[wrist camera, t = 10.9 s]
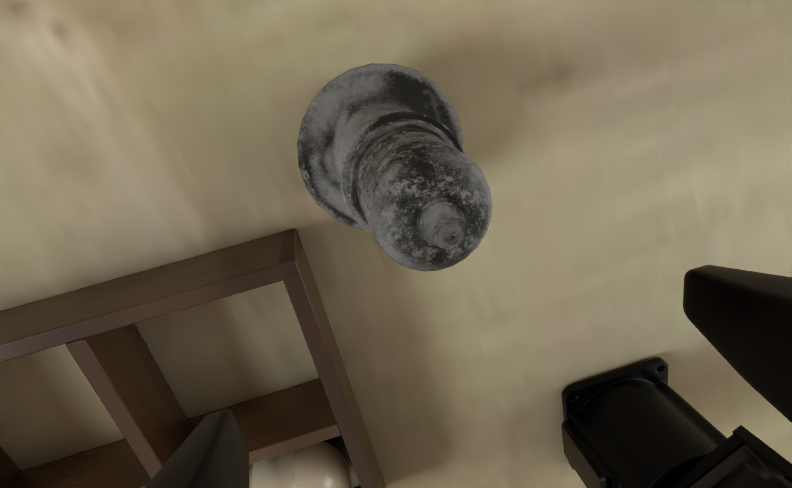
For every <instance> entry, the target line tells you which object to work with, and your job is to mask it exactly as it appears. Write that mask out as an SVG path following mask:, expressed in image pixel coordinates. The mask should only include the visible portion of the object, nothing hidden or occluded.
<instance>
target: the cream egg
mask: <svg viewBox="0 0 792 488" xmlns="http://www.w3.org/2000/svg"><path fill="white" fill-rule="evenodd" d="M249 481H250V488H351V475H350V470H349V467H348V464H347V462H346V461H345V459H344V457H343V455H342V454H341V453H340V452H339V451H338V450H337V449H336V448H335V447H334V446H332V445H331V444H329V443H327V442H325V441H322V442H319V443H316V444H313V445H309V446H306V447H303V448H300V449H297V450H294V451H291V452H288V453H285V454H282V455H279V456H275V457H272V458H269V459H266V460H263V461H260V462H257V463H254V464H251V465H249Z"/></svg>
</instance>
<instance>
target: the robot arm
mask: <svg viewBox="0 0 792 488" xmlns="http://www.w3.org/2000/svg"><path fill="white" fill-rule="evenodd" d="M683 308H684V312H685V314H686V316H687V318H688V319H689V320H690V321H691V322H692V323H693V324H694V325H695V327H696V328H697V329H698V330H699V331H700V332H701V333H702V334H703V335H704V336H705V337H706V339H707V340H708V341H709V342H710V343H711V344H712V345H713V346H714V347H715V348H716V349H717V351H718V352H719V353H720V354H721V355H722V356H723V357H724V358H725V359H726V360H727V361H728V363H729V364H730V365H731V366H732V367H733V368H734V369H735V370H736V371H737V372H738V373H739V374H740V375H741V376H742V377H743V378H744V379H745V380H746V381H747V382H748V383H749V384H750V385H751V386H752V387H753V388H754V389H755V390H756V391H757V392H759V393H760V394H761V395H762V396H763V397H764V398H765V399H766V400H767V401H768V402H770V403H771V404H772V405H773V406H774V407H775V408H776V409H777V410H778V411H779V412H781V413H782V414H783V415H784V416H785V417H786V418H787V419H788V420H789V421H790V422H792V277H785V276H778V275H772V274H765V273H759V272H752V271H746V270H739V269H732V268H726V267H719V266H713V265H705V266H701V267H698V268H695V269H691V270H689V271H688V272H687V273H686V274H685V276H684V293H683ZM562 404H563V414H564V421H563V423H562V435H563V444H564V453H565V455H566V457H567V458H568V462H569V464H570V465H571V467H572V468H573V469H574V470H576V472H577V473H578V475H579V477H580V478H581V480H582V481H583V483H584V484H585V486H586V487H587V488H792V464H791V463H790V462H788V461H787V460H786V459H784V458H783V457H782V456H781V455H779V454H778V453H777V452H775V451H774V450H773V449H771V448H770V447H769V446H768V445H766V444H765V443H764V442H762V441H761V440H760V439H758V438H757V437H756V436H755V435H753V434H752V433H751V432H749V431H748V430H747V429H745V428H744V427H743V426H741V425H740V426H739V427H738V428H736V429H735V430H734V431H733V432H732V433H733V435H731V436H730V437H729V438H726V437H725V436H724V435H723V434H722V433H721V432H720V431H719V430H717V429H716V428H715V427H714V426H713V425H712V424H711V423H710V422H709V421H707V420H706V419H705V418H704V417H703V416H702V415H701V414H700V413H698V412H697V411H696V410H695V409H694V408H693V407H692V406H691V405H690V404H688V403H687V402H686V401H685V400H684V399H683V398H682V397H681V396H679V395H678V394H677V393H676V392H675V391H674V390H673V389H672V388H671V387H669V386H668V364H667V363H666V362H665V361H664V360H663V359H662V358H659V357H658V358H654V359H651V360H648V361H645V362H642V363H639V364H635V365H632V366H629V367H626V368H623V369H620V370H617V371H614V372H611V373H608V374H605V375H602V376H599V377H596V378H593V379H590V380H587V381H584V382H581V383H578V384H574V385H571V386H569V387H567V388H565V389H564V390H563V392H562ZM145 488H250V481H249V449H248V445H247V442H246V439H245V437H244V435H243V433H242V431H241V429H240V427H239V425H238V422H237V420H236V418H235V416H234V414H233V413H232V412H231V411H230V410H227V409H226V410H222V411H219V412H216V413H212V414H209V415H207V416H205V418H204V419H203V420H202V421H201V422H200V423H199V424H198V425H197V427H196V428H195V429H194V430H193V431H192V432H191V434H190V435H189V436H188V437H187V438H186V440H185V441H184V442H183V443H182V444H181V445H180V447H179V448H178V449H177V450H176V451H175V452H174V454H173V455H172V456H171V457H170V458H169V459H168V461H167V462H166V463H165V464H164V465H163V467H162V468H161V469H160V470H159V471H158V472H157V474H156V475H155V476H154V477H153V478H152V479H151V481H150V482H149V483H148V484H147V485H146V486H145Z"/></svg>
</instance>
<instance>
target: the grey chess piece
mask: <svg viewBox="0 0 792 488" xmlns="http://www.w3.org/2000/svg"><path fill="white" fill-rule="evenodd" d="M297 145H298V163H299V168H300V171H301V174H302V177H303V180H304V183H305V186H306V188H307V189H308V191H309V192H310V194H311V195H312V197H313V198H314V200H315V201H316V203H317V204H318V205H319V206H320V207H321V208H322V209H324V210H325V211H326V212H327V213H328V214H329V215H330V216H332V217H333V218H334V219H336V220H338V221H340V222H342V223H344V224H346V225H348V226H350V227H353V228H358V229H363V230H366V231H368V232H370V233H372V235H373V237H374V239H375V240H376V242H377V244H378V245H379V247H380V248H381V249H382V250H383V251H384V252H385V253H386V254H387V255H388V256H389V257H390V258H391V259H393V260H394V261H395V262H397V263H399V264H401V265H403V266H405V267H407V268H410V269H415V270H420V271H436V270H441V269H444V268H447V267H451V266H453V265H455V264H457V263H458V262H460V261H462V260H463V259H465V258H466V257H467V256H468V255H469V254H470V253H471V252H473V251H474V250H475V249H476V248H477V246H478V245H479V243H480V242H481V240H482V239H483V237H484V236H485V234H486V231H487V228H488V226H489V223H490V220H491V212H492V199H491V193H490V188H489V186H488V183H487V181H486V179H485V177H484V175H483V173H482V171H481V169H480V168H479V167H478V166H477V164H476V163H475V162H474V161H473V160H472V159H471V158H470V157H469V156H467V155H466V154H464V153H463V151H462V148H463V138H462V133H461V127H460V122H459V119H458V116H457V114H456V112H455V110H454V108H453V106H452V104H451V101H450V100H449V99H448V97H447V96H446V95H445V94H444V93H443V92H442V90H441V89H440V88H439V87H438V86H437V84H436V83H434V82H433V81H431V80H430V79H428V78H427V77H425V76H424V75H422V74H421V73H419V72H418V71H415V70H412V69H409V68H406V67H403V66H399V65H396V64H368V65H365V66H361V67H357V68H354V69H350V70H348V71H346V72H344V73H343V74H341V75H340V76H338V77H336V78H335V79H333V80H331V81H330V82H328V83H327V85H326V86H325V87H324V88H323V89H322V90H321V91H320V92H319V93H318V94H317V95H316V96H315V97H314V98H313V100H312V102H311V104H310V106H309V108H308V110H307V111H306V113H305V115H304V117H303V119H302V123H301V128H300V132H299V137H298V142H297Z"/></svg>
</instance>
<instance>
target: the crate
mask: <svg viewBox="0 0 792 488" xmlns="http://www.w3.org/2000/svg"><path fill="white" fill-rule="evenodd" d="M282 280H283V281H284V284H285V286H286V289H287V292H288V294H289V297H290V300H291V302H292V305H293V308H294V310H295V313H296V316H297V318H298V321H299V324H300V326H301V329H302V332H303V334H304V337H305V340H306V342H307V345H308V348H309V350H310V353H311V355H312V358H313V361H314V363H315V366H316V369H317V371H318V374H319V377H320V379H318V380H315V381H311V382H308V383H305V384H302V385H298V386H295V387H292V388H289V389H286V390H282V391H279V392H276V393H273V394H270V395H266V396H263V397H260V398H257V399H254V400H250V401H247V402H244V403H241V404H237V405H234V406H231V407H228V408H225V409H221V410H218V411H215V412H212V413H216V412H219V411H222V410H226V409H227V410H230V411H231V412H232V413H233V414H234V416H235V418H236V420H237V422H238V425H239V427H240V429H241V431H242V433H243V435H244V437H245V439H246V442H247V445H248V449H249V465H251V464H254V463H257V462H260V461H263V460H266V459H269V458H272V457H275V456H279V455H282V454H285V453H288V452H291V451H294V450H297V449H300V448H303V447H306V446H309V445H313V444H316V443H319V442H322V441H325V440H328V439H331V438H334V437H337V436H340V435H342V438H343V441H344V443H345V446H346V449H347V451H348V454H349V457H350V459H351V462H352V465H353V467H354V470H355V472H356V475H357V478H358V480H359V483H360V487H357V488H386V487H385V484H384V481H383V478H382V475H381V473H380V470H379V467H378V464H377V461H376V458H375V455H374V452H373V449H372V446H371V443H370V441H369V438H368V435H367V432H366V429H365V426H364V423H363V420H362V417H361V414H360V411H359V409H358V406H357V403H356V400H355V397H354V394H353V391H352V388H351V385H350V382H349V380H348V377H347V374H346V371H345V368H344V365H343V362H342V359H341V356H340V353H339V350H338V348H337V345H336V342H335V339H334V336H333V333H332V330H331V327H330V324H329V321H328V318H327V316H326V313H325V310H324V307H323V304H322V301H321V298H320V295H319V292H318V289H317V287H316V284H315V281H314V278H313V275H312V272H311V269H310V266H309V263H308V260H307V257H306V255H305V252H304V249H303V246H302V243H301V240H300V237H299V234H298V231H297V229H292V230H288V231H285V232H282V233H278V234H274V235H271V236H267V237H264V238H260V239H257V240H253V241H250V242H246V243H243V244H239V245H235V246H232V247H228V248H225V249H221V250H218V251H214V252H211V253H207V254H204V255H200V256H196V257H193V258H189V259H186V260H182V261H179V262H175V263H172V264H168V265H165V266H161V267H158V268H154V269H150V270H147V271H143V272H140V273H136V274H133V275H129V276H126V277H122V278H119V279H115V280H111V281H108V282H104V283H101V284H97V285H94V286H90V287H87V288H83V289H80V290H76V291H73V292H69V293H65V294H62V295H58V296H55V297H51V298H48V299H44V300H41V301H37V302H34V303H30V304H26V305H23V306H19V307H16V308H12V309H9V310H5V311H2V312H0V362H3V361H7V360H10V359H14V358H17V357H20V356H24V355H27V354H31V353H34V352H38V351H41V350H45V349H48V348H51V347H55V346H58V345H62V344H65V343H66V347H67V348H68V350H69V351H70V353H71V354H72V356H73V357H74V359H75V361H76V362H77V364H78V365H79V367H80V368H81V370H82V371H83V373H84V375H85V376H86V378H87V379H88V381H89V382H90V384H91V385H92V387H93V389H94V390H95V392H96V393H97V395H98V396H99V398H100V399H101V401H102V403H103V404H104V406H105V407H106V409H107V410H108V412H109V413H110V415H111V417H112V418H113V420H114V421H115V423H116V424H117V426H118V427H119V429H120V431H121V432H122V434H123V435H124V437H125V438H126V439H125V440H122V441H119V442H115V443H112V444H109V445H106V446H103V447H99V448H96V449H93V450H90V451H87V452H83V453H80V454H77V455H74V456H71V457H67V458H64V459H61V460H58V461H54V462H51V463H48V464H45V465H42V466H38V467H35V468H32V469H29V470H26V471H22V472H20V471H19V470H18V469H17V467H16V466H15V465H14V464H13V462H12V461H11V460H10V459H9V457H8V456H7V455H6V454H5V452H4V451H3V450H2V449H1V448H0V488H145V486H146V485H147V484H148V483H149V482H150V481H151V479H152V478H153V477H154V476H155V475H156V474H157V472H158V471H159V470H160V469H161V468H162V467H163V465H164V464H165V463H166V462H167V461H168V459H169V458H170V457H171V456H172V455H173V454H174V452H175V451H176V450H177V449H178V448H179V447H180V445H181V444H182V443H183V442H184V441H185V440H186V438H187V437H188V436H189V435H190V434H191V432H192V431H193V430H194V429H195V428H196V427H197V425H198V424H199V423H200V422H201V421H202V420H203V419H204V418H205V416H207V415H209V414H212V413H209V414H205V415H202V416H199V417H196V418H193V419H189V420H187V418H186V416H185V415H184V413H183V411H182V409H181V407H180V406H179V404H178V402H177V400H176V398H175V397H174V395H173V393H172V391H171V389H170V388H169V386H168V384H167V382H166V380H165V378H164V377H163V375H162V373H161V371H160V369H159V368H158V366H157V364H156V362H155V360H154V359H153V357H152V355H151V353H150V351H149V350H148V348H147V346H146V344H145V342H144V341H143V339H142V337H141V335H140V333H139V332H138V330H137V328H136V326H135V324H134V323H137V322H141V321H144V320H148V319H151V318H154V317H158V316H161V315H165V314H168V313H172V312H175V311H179V310H182V309H185V308H189V307H192V306H196V305H199V304H203V303H206V302H209V301H213V300H216V299H220V298H223V297H227V296H230V295H233V294H237V293H240V292H244V291H247V290H251V289H254V288H258V287H261V286H264V285H268V284H271V283H275V282H278V281H282Z"/></svg>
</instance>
